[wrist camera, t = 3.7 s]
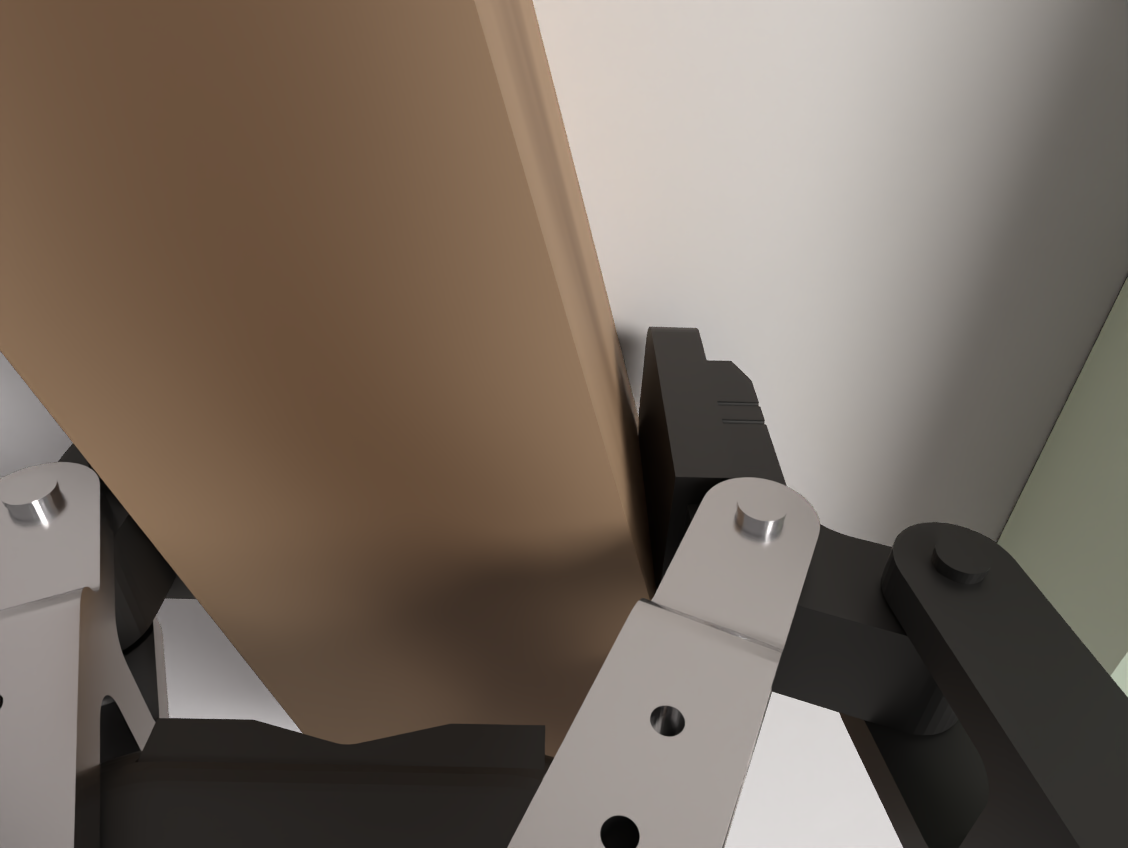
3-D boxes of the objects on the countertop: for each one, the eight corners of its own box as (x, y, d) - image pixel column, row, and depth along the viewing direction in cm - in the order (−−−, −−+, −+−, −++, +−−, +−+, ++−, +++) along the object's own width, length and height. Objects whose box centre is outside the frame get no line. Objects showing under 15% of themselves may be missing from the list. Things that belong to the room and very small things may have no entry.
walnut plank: (463, 654, 18) (432, 897, 14) (30, -166, 9) (-408, -164, 5) (688, 616, 17) (726, 863, 13) (452, -318, 8) (339, -461, 4)
